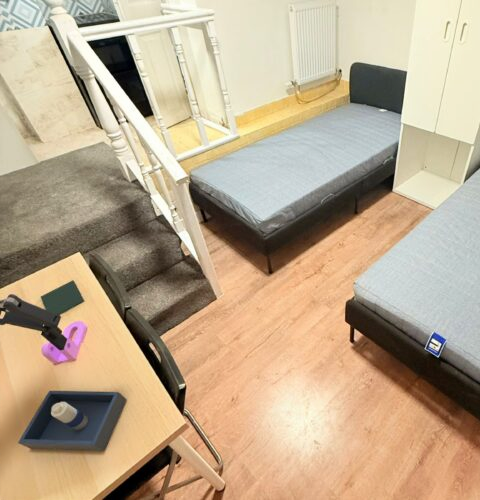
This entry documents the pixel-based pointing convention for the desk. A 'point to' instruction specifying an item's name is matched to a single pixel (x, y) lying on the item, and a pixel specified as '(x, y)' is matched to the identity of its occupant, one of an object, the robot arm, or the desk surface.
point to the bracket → (70, 346)
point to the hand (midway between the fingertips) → (29, 352)
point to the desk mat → (62, 298)
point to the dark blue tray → (65, 437)
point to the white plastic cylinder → (69, 415)
